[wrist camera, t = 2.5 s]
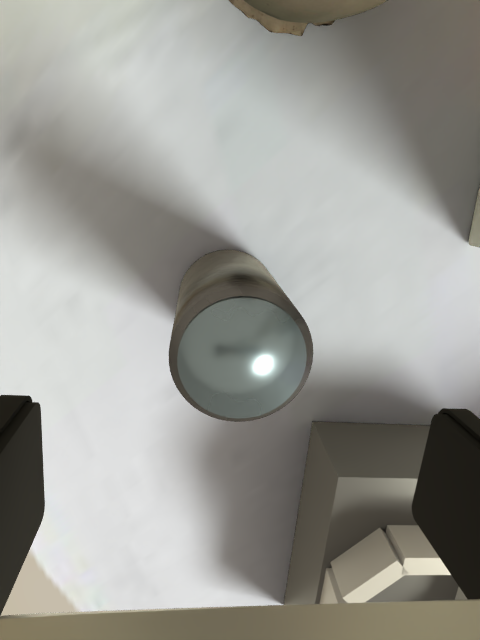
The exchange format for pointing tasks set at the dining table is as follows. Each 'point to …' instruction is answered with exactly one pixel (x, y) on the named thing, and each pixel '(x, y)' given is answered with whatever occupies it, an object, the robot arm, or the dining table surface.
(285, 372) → the lens
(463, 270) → the dining table surface
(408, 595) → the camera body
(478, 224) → the small box
